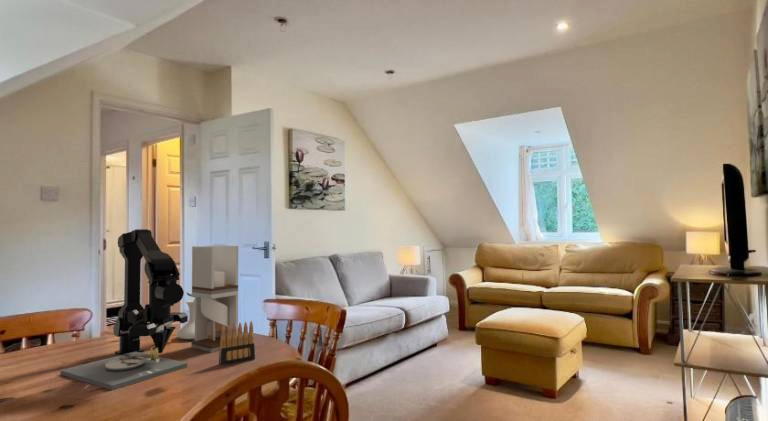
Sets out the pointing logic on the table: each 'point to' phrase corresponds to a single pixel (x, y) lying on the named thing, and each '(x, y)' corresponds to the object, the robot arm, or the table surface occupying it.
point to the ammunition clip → (236, 345)
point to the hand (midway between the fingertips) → (160, 352)
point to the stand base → (121, 372)
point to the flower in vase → (189, 328)
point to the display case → (214, 293)
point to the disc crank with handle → (131, 361)
